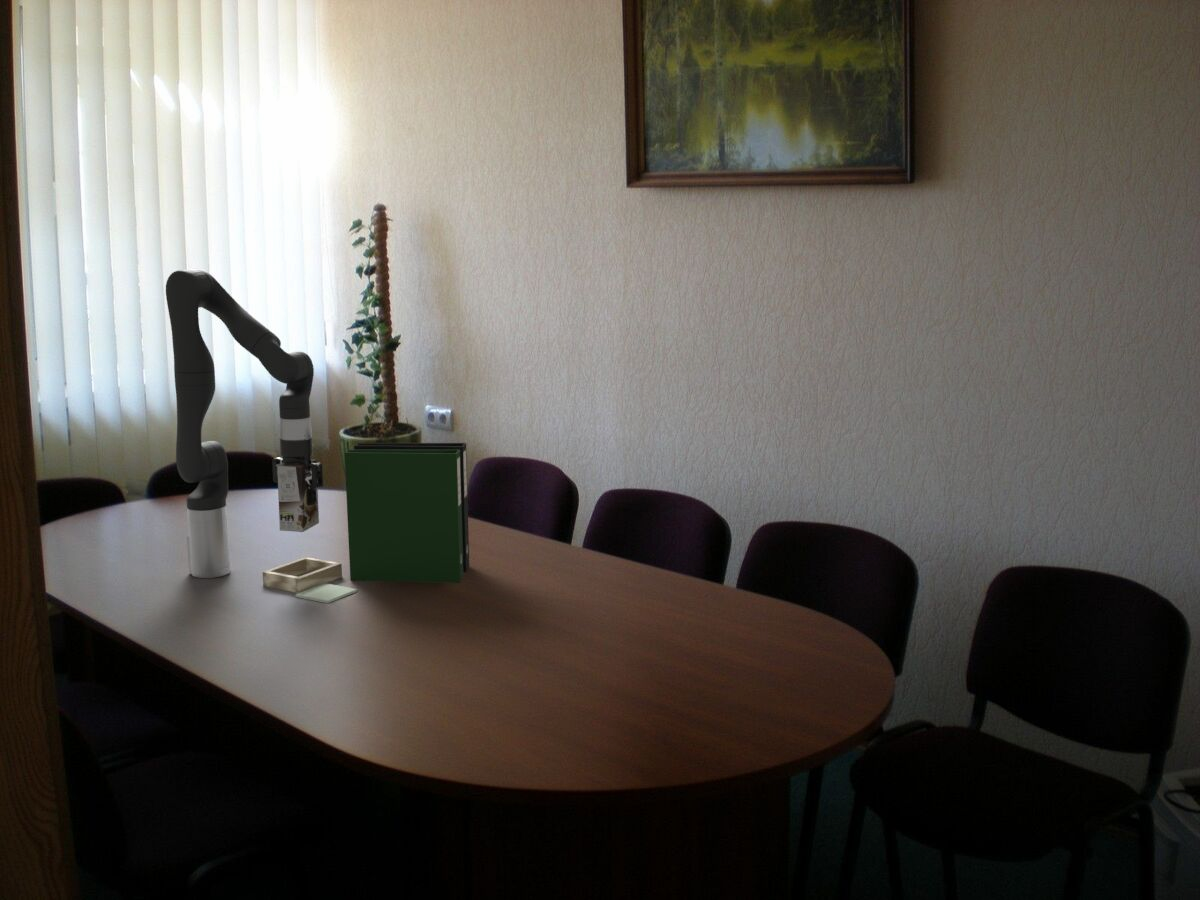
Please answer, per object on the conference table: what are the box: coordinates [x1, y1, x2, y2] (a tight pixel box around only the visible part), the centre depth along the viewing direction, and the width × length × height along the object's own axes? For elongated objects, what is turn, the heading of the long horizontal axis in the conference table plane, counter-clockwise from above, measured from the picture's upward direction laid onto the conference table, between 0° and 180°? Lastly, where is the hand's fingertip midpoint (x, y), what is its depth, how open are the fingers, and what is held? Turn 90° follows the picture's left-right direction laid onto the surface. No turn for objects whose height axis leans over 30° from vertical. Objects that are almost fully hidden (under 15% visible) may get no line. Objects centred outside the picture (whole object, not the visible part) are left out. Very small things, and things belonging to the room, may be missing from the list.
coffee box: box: [277, 458, 320, 533], centre depth 285 cm, size 9×6×16 cm
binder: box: [344, 442, 470, 584], centre depth 292 cm, size 27×15×32 cm, turn 87°
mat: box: [295, 583, 358, 604], centre depth 279 cm, size 10×10×1 cm
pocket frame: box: [261, 556, 343, 594], centre depth 289 cm, size 12×15×4 cm
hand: (298, 502), depth 285 cm, fingers closed on coffee box, 7 cm apart
